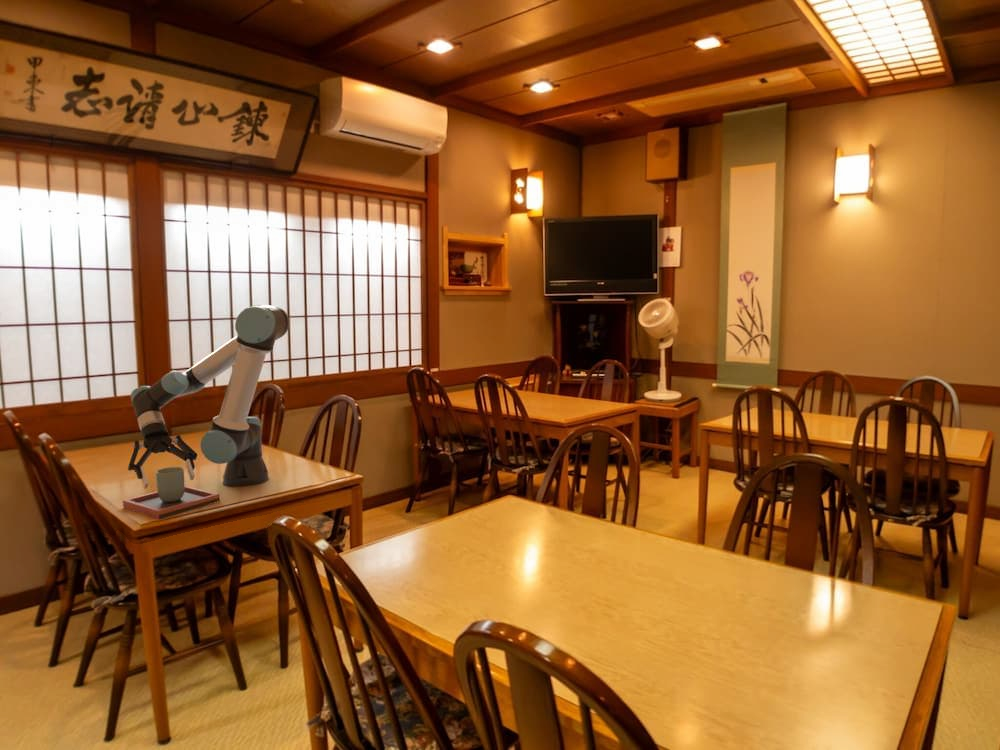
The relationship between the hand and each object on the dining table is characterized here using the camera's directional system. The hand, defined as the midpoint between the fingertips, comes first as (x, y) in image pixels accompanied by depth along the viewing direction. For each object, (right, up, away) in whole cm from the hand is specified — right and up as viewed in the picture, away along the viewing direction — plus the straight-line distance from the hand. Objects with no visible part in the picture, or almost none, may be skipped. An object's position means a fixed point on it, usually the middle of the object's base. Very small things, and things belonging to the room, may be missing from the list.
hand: (170, 482), depth 209 cm
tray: (0, -7, +1) cm, 7 cm away
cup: (0, -6, +1) cm, 6 cm away
